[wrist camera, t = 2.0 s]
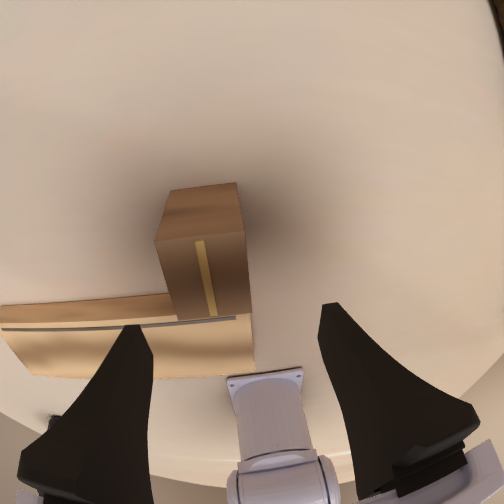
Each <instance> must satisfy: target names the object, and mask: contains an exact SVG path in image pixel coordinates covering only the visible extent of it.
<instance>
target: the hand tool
mask: <svg viewBox="0 0 504 504" xmlns="http://www.w3.org/2000/svg"><path fill="white" fill-rule="evenodd" d="M494 5H495V6H496V9H497V12H498V15H499V19H500V23H501V26H502V29H503V33H504V0H494Z"/></svg>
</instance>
